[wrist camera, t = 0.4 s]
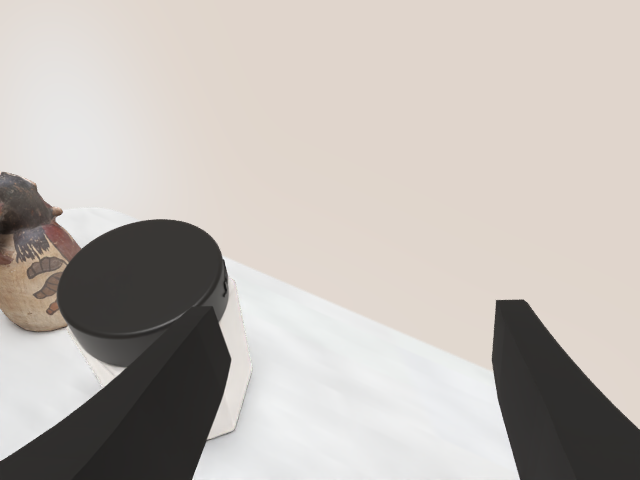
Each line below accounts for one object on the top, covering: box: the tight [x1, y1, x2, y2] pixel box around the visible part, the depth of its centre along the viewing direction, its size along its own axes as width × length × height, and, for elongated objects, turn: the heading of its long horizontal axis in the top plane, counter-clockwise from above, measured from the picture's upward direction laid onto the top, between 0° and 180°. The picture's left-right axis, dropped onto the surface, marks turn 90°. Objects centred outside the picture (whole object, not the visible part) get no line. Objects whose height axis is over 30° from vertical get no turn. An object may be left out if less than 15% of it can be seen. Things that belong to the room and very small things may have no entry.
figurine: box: [0, 171, 81, 332], centre depth 34 cm, size 7×7×12 cm
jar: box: [56, 219, 252, 440], centre depth 28 cm, size 9×8×12 cm
